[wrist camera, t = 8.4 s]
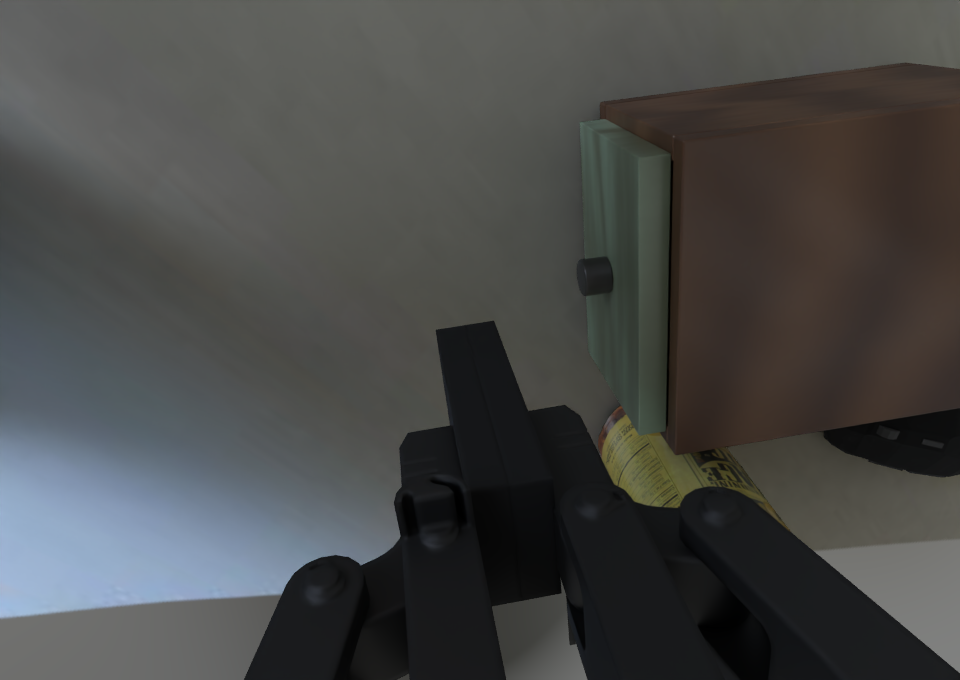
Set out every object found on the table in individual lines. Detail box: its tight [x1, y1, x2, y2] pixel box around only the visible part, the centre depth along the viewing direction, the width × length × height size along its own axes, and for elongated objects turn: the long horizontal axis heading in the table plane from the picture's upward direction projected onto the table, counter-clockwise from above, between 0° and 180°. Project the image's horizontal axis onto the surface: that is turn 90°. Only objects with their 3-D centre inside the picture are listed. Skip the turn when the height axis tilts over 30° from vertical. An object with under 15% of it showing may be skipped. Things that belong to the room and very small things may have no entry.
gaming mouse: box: [824, 408, 960, 477], centre depth 40 cm, size 6×15×4 cm, turn 81°
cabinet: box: [600, 63, 960, 455], centre depth 31 cm, size 15×13×10 cm
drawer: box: [577, 119, 673, 435], centre depth 31 cm, size 15×12×8 cm
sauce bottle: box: [598, 406, 792, 533], centre depth 31 cm, size 6×6×20 cm
